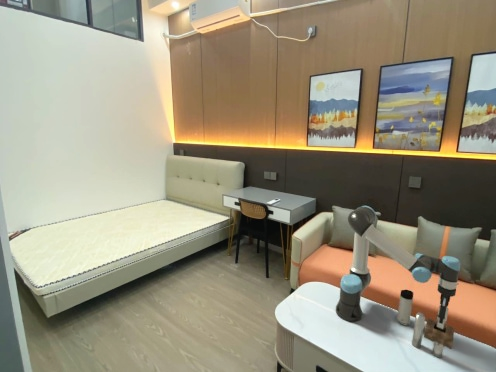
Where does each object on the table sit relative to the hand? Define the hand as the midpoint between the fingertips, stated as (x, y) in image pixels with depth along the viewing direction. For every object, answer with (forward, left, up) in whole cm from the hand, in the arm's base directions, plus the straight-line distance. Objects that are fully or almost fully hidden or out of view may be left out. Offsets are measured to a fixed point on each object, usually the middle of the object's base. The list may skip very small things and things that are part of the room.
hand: (440, 325), depth 141 cm
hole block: (0, 0, -8) cm, 8 cm away
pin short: (+1, -14, -8) cm, 16 cm away
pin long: (-8, -14, -8) cm, 18 cm away
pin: (0, 0, -3) cm, 3 cm away
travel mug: (-17, +1, -8) cm, 19 cm away
